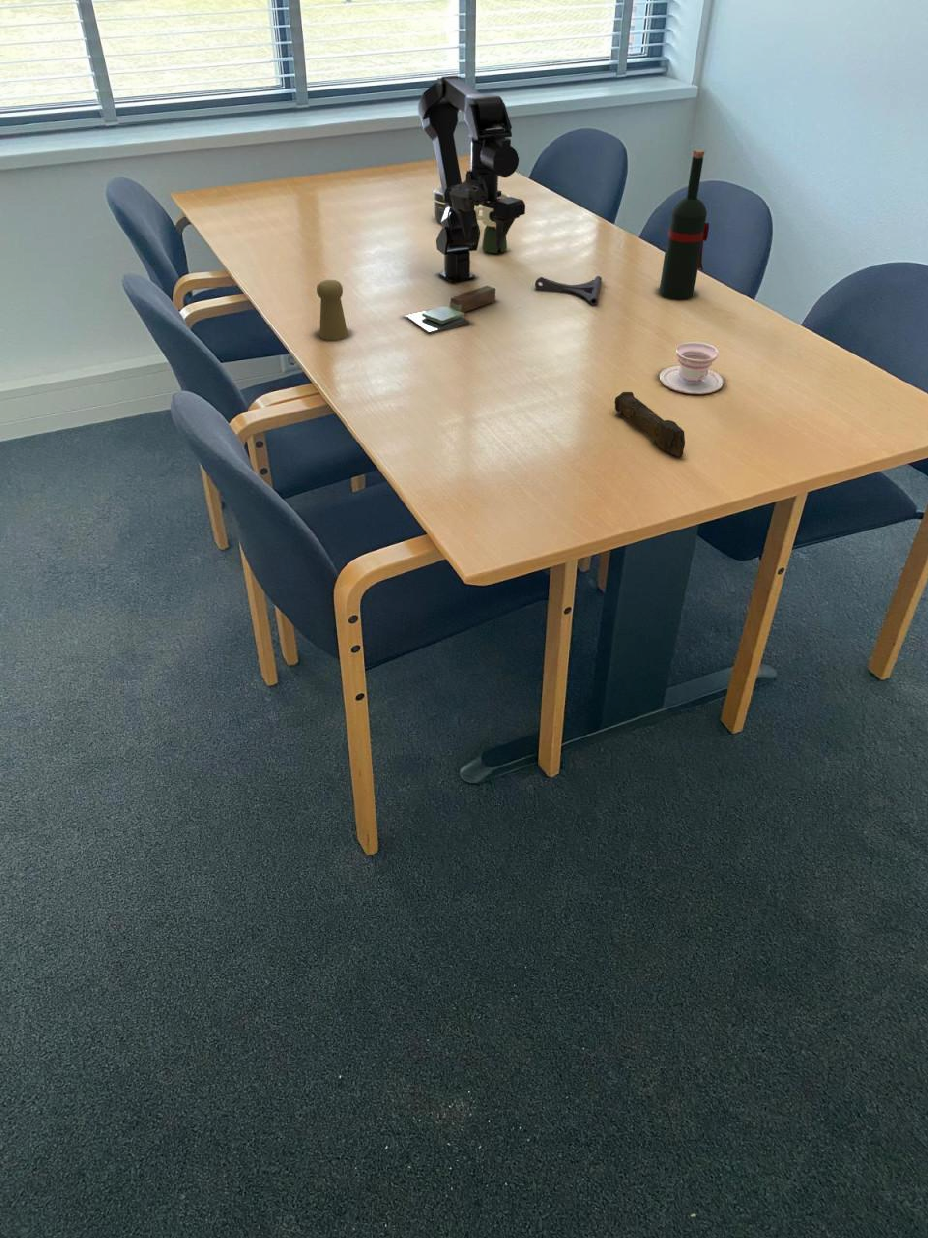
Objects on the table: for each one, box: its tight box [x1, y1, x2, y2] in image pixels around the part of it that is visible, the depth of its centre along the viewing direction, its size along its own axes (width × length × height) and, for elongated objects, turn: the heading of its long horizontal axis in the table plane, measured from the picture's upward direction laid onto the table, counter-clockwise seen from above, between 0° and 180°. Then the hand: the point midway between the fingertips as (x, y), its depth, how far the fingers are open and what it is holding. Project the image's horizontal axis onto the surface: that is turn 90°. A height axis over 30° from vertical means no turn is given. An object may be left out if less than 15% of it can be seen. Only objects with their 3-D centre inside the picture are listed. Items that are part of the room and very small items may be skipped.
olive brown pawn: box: [316, 279, 349, 341], centre depth 187 cm, size 6×6×11 cm
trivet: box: [405, 309, 470, 334], centre depth 197 cm, size 10×10×1 cm
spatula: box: [422, 285, 496, 324], centre depth 200 cm, size 19×6×3 cm, turn 137°
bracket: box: [534, 275, 603, 306], centre depth 210 cm, size 14×15×3 cm
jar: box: [433, 186, 445, 224], centre depth 249 cm, size 10×10×8 cm
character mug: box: [474, 192, 511, 254], centre depth 228 cm, size 11×7×13 cm, turn 111°
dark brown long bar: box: [613, 391, 686, 458], centre depth 158 cm, size 19×4×5 cm, turn 21°
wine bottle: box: [658, 149, 710, 301], centre depth 202 cm, size 8×10×30 cm
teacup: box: [659, 341, 724, 395], centre depth 173 cm, size 12×12×6 cm
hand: (482, 242), depth 200 cm, fingers open, 9 cm apart
